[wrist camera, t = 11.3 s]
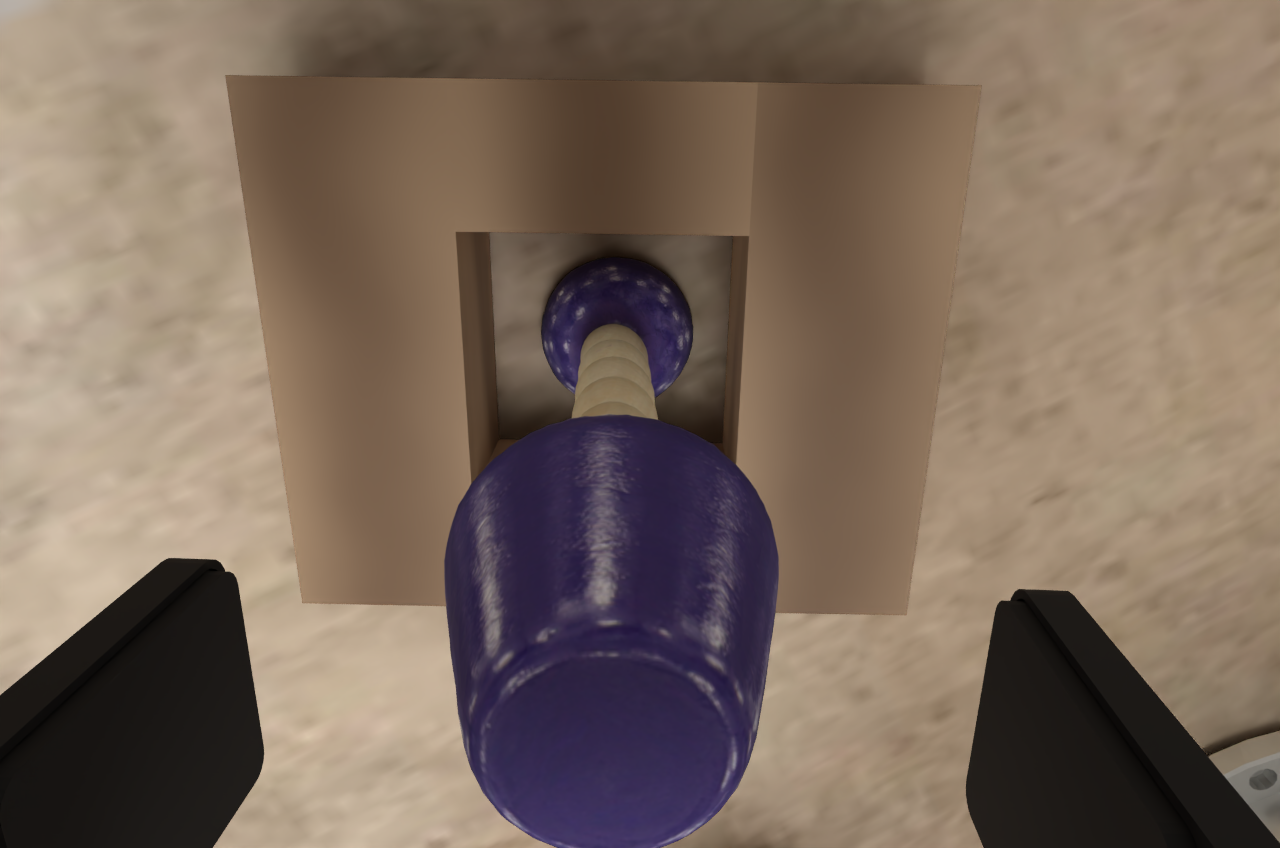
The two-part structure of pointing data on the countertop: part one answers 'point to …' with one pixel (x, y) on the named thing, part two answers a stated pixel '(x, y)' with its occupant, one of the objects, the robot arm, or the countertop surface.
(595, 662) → the toy lamp
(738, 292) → the brown flat frame block
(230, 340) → the countertop surface
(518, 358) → the countertop surface
